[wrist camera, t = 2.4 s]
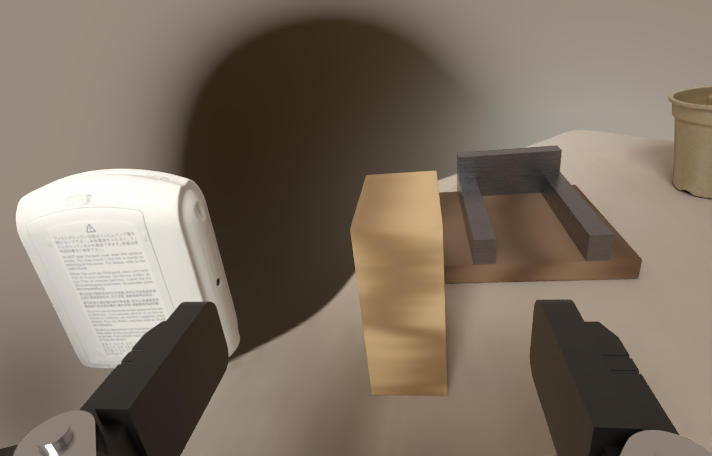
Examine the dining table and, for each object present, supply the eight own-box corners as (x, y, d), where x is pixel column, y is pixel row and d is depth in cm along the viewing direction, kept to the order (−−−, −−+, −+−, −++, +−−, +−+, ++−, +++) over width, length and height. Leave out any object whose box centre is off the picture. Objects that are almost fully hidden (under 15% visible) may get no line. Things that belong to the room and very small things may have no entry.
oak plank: (440, 313, 29) (436, 170, 25) (447, 395, 23) (442, 224, 19) (381, 314, 30) (366, 175, 26) (371, 394, 24) (350, 229, 19)
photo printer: (250, 325, 30) (203, 152, 25) (230, 371, 27) (170, 178, 21) (112, 332, 32) (39, 167, 26) (73, 376, 28) (-22, 194, 22)
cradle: (573, 199, 43) (580, 143, 40) (638, 278, 30) (652, 205, 28) (437, 206, 45) (435, 154, 42) (445, 283, 32) (443, 215, 30)
